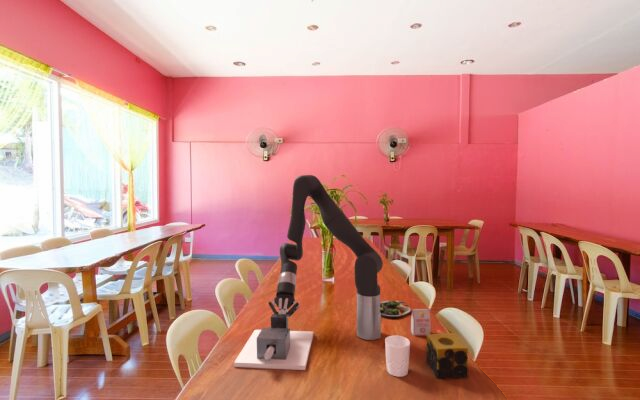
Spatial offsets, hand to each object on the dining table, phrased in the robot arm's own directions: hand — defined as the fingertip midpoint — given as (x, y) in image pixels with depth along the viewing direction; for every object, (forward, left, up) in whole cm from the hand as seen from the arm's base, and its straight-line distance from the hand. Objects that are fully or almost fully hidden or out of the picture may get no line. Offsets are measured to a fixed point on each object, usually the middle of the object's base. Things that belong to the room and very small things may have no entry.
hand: (280, 326), depth 126 cm
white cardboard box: (-55, -11, -6) cm, 56 cm away
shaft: (0, +11, -4) cm, 11 cm away
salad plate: (-45, -33, -6) cm, 56 cm away
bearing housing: (0, +11, -4) cm, 12 cm away
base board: (0, +6, -6) cm, 9 cm away
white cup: (-42, +16, -6) cm, 45 cm away
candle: (-58, +14, -6) cm, 60 cm away
